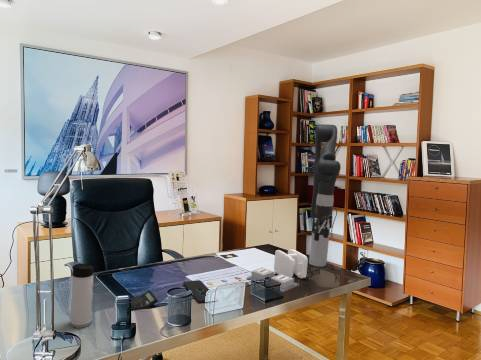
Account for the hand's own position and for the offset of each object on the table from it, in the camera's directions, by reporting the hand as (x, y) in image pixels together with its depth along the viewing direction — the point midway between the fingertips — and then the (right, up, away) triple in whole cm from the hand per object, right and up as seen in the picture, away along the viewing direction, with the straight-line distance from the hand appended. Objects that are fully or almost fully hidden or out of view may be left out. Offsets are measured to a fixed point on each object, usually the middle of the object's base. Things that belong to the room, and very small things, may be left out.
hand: (321, 239), depth 171 cm
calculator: (-75, -20, -31) cm, 83 cm away
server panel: (-22, -20, +1) cm, 30 cm away
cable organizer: (-13, -20, +12) cm, 27 cm away
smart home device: (-54, -20, -16) cm, 60 cm away
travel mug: (-89, -20, -48) cm, 103 cm away
